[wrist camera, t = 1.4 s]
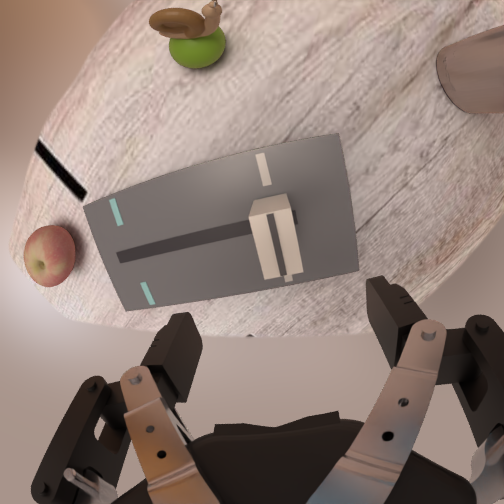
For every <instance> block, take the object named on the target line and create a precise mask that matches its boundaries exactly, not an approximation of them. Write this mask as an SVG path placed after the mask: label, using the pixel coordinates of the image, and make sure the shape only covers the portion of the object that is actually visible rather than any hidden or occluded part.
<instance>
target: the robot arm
mask: <svg viewBox="0 0 504 504" xmlns="http://www.w3.org/2000/svg"><path fill="white" fill-rule="evenodd" d="M437 72H438V76H439V79H440V82H441V84H442V86H443V88H444V90H445V92H446V94H447V95H448V97H449V98H450V99H451V100H452V102H453V103H454V104H455V105H456V106H458V107H459V108H460V109H461V110H463V111H465V112H468V113H504V25H502V26H499V27H496V28H493V29H490V30H487V31H484V32H482V33H479V34H476V35H474V36H471V37H468V38H466V39H463V40H461V41H458V42H456V43H454V44H451V45H449V46H447V47H445V48H443V49H442V50H441V51H440V52H439V54H438V56H437ZM366 299H367V314H368V319H369V322H370V324H371V326H372V328H373V330H374V332H375V334H376V336H377V339H378V341H379V343H380V345H381V347H382V349H383V352H384V354H385V356H386V358H387V361H388V363H389V365H390V368H391V372H390V375H389V377H388V379H387V381H386V383H385V385H384V387H383V389H382V391H381V393H380V396H379V397H378V399H377V402H376V403H375V405H374V407H373V409H372V411H371V413H370V414H369V416H368V418H367V420H366V422H365V423H364V422H361V421H356V420H350V419H340V418H339V412H338V411H335V412H330V413H325V414H319V415H314V416H308V417H305V418H302V419H299V420H296V421H293V422H291V423H288V424H284V425H282V426H278V427H265V426H258V425H251V424H244V423H241V424H215V427H214V433H210V434H207V435H204V436H202V437H199V438H197V439H195V440H194V438H193V437H192V435H191V434H190V432H189V430H188V429H187V427H186V425H185V424H184V422H183V420H182V418H181V417H180V415H179V413H178V412H177V410H176V409H175V404H176V402H181V403H183V402H185V403H186V402H187V398H188V395H189V391H190V388H191V385H192V381H193V378H194V375H195V372H196V368H197V365H198V362H199V359H200V356H201V352H202V347H203V345H202V339H201V336H200V334H199V332H198V330H197V327H196V325H195V323H194V320H193V318H192V316H191V314H190V313H189V312H184V313H177V314H173V315H172V316H171V318H170V320H169V322H168V324H167V325H165V326H164V327H163V328H162V329H161V330H160V331H158V333H157V334H156V336H155V338H154V341H153V342H152V344H151V347H149V349H148V352H147V353H146V355H145V357H144V359H143V361H142V363H141V365H140V366H135V367H133V368H130V369H129V370H128V371H126V372H125V373H124V374H123V375H122V377H121V379H120V381H118V382H114V383H109V384H107V382H106V381H105V380H104V378H103V377H101V376H93V377H90V378H89V379H87V380H86V381H85V382H84V383H83V384H82V385H81V387H80V389H79V391H78V392H77V394H76V396H75V397H74V399H73V401H72V403H71V404H70V406H69V408H68V410H67V412H66V414H65V416H64V417H63V419H62V421H61V423H60V425H59V427H58V429H57V431H56V433H55V435H54V437H53V439H52V441H51V443H50V445H49V447H48V449H47V451H46V453H45V455H44V457H43V460H42V462H41V464H40V466H39V468H38V471H37V473H36V475H35V478H34V480H33V482H32V485H31V494H32V497H33V499H34V500H35V501H36V502H37V503H39V504H493V503H495V502H496V501H498V500H501V499H504V332H503V331H502V329H501V328H500V327H499V326H498V325H497V323H496V322H495V321H494V320H493V319H492V318H490V317H489V316H486V315H474V316H472V317H470V318H469V319H468V320H467V322H466V325H465V328H459V329H446V328H445V326H444V325H443V324H442V323H440V322H438V321H436V320H431V319H428V318H427V317H426V316H425V314H424V313H423V312H422V310H421V309H420V308H419V306H418V305H417V304H416V302H414V300H413V299H412V297H411V296H410V295H409V294H408V292H407V291H406V290H405V289H404V288H403V287H401V286H399V285H397V284H392V285H390V284H389V283H388V281H387V280H386V279H385V277H384V276H383V275H381V276H377V277H373V278H369V279H367V280H366ZM451 383H452V385H453V388H454V390H455V392H456V394H457V396H458V398H459V401H460V403H461V405H462V408H463V410H464V413H465V415H466V417H467V420H468V422H469V425H470V427H471V430H472V433H473V435H474V438H475V441H476V444H477V446H478V449H477V450H476V452H475V453H474V455H473V457H472V461H471V468H472V475H471V479H470V481H468V480H466V479H465V478H464V477H462V476H459V475H458V474H456V473H454V472H452V471H450V470H447V469H446V468H444V467H442V466H440V465H438V464H436V463H434V462H433V461H431V460H429V459H427V458H425V457H423V456H422V455H420V454H418V453H417V452H415V451H413V450H412V448H413V445H414V443H415V441H416V438H417V436H418V434H419V431H420V428H421V426H422V423H423V421H424V418H425V415H426V412H427V409H428V406H429V403H430V400H431V397H432V394H433V391H434V387H435V385H441V384H451ZM100 417H101V418H102V419H103V420H104V421H105V425H104V428H103V430H102V432H101V435H100V437H99V440H97V439H96V438H95V435H94V429H95V427H96V424H97V422H98V420H99V418H100ZM131 440H132V443H133V446H134V449H135V451H136V454H137V457H138V459H139V462H140V464H141V467H142V469H143V472H144V474H145V477H146V478H145V479H144V480H143V481H141V482H140V483H139V484H137V485H136V486H134V487H133V488H132V489H130V490H129V491H127V492H126V493H124V494H123V495H122V496H120V497H119V498H118V496H117V491H116V487H117V483H118V480H119V476H120V473H121V470H122V467H123V463H124V460H125V457H126V454H127V451H128V448H129V445H130V442H131Z"/></svg>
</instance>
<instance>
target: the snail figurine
mask: <svg viewBox="0 0 504 504" xmlns="http://www.w3.org/2000/svg"><path fill="white" fill-rule="evenodd" d="M214 1H216V2H214ZM221 13H222V8H221V6H220V5H218V3H217V0H212V2H210V3H209V4H207V5H205V6H204V7H203V8H202V14H203V15H204V16H205V19H204V18H203V17H202V16H201V15H200V14H198V13H196V12H194V11H192V10H188V9H183V8H168V9H163V10H160V11H157V12H155V13H154V14H153V15H152V16H151V17H150V19H149V24H150V26H151V27H152V28H153V29H154V30H156V31H159V34H161V35H163V36H165V37H169V38H170V41H169V50H170V54H171V56H172V57H173V59H174V60H175V61H176V62H177V63H178V64H180V65H182V66H184V67H187V68H203V67H206V66H209V65H211V64H212V63H214V62H215V61H217V60H218V59H219V58H220V56H221V55H222V53H223V51H224V49H225V44H226V40H225V35H224V33H223V31H222V30H221V28H220V27H219V23H220V15H221Z"/></svg>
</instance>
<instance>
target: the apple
mask: <svg viewBox="0 0 504 504" xmlns="http://www.w3.org/2000/svg"><path fill="white" fill-rule="evenodd" d="M24 262H25V266H26V269H27V271H28V273H29V275H30V276H31V278H32V279H33V280H34V281H35V282H36V283H38V284H39V285H42V286H45V287H53V286H56V285H58V284H60V283H62V282H63V281H64V280H65V279H66V278H67V277H68V276H69V275H70V273H71V271H72V269H73V267H74V263H75V244H74V241H73V239H72V237H71V235H70V234H69V232H68V231H67V230H65V229H64V228H62V227H59V226H54V225H50V226H44V227H41V228H39V229H37V230H36V231H35V232H33V234H32V235H31V236H30V237H29V238H28V240H27V242H26V245H25V249H24Z"/></svg>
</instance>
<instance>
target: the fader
mask: <svg viewBox="0 0 504 504" xmlns="http://www.w3.org/2000/svg"><path fill="white" fill-rule="evenodd" d="M249 221H250V225H251V229H252V233H253V237H254V241H255V244H256V248H257V252H258V256H259V260H260V264H261V268H262V272H263V276H264V279H265V280H266V279H271V278H276V277H282V276H287V275H292V274H297V273H302V272H303V267H302V261H301V256H300V251H299V246H298V240H297V235H296V231H295V226H294V221H293V216H292V211H291V207H290V204H289V201H288V197H287V194H286V193H285V194H280V195H275V196H271V197H266V198H262V199H257V200H254V201H253V204H252V207H251V211H250V214H249Z"/></svg>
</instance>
